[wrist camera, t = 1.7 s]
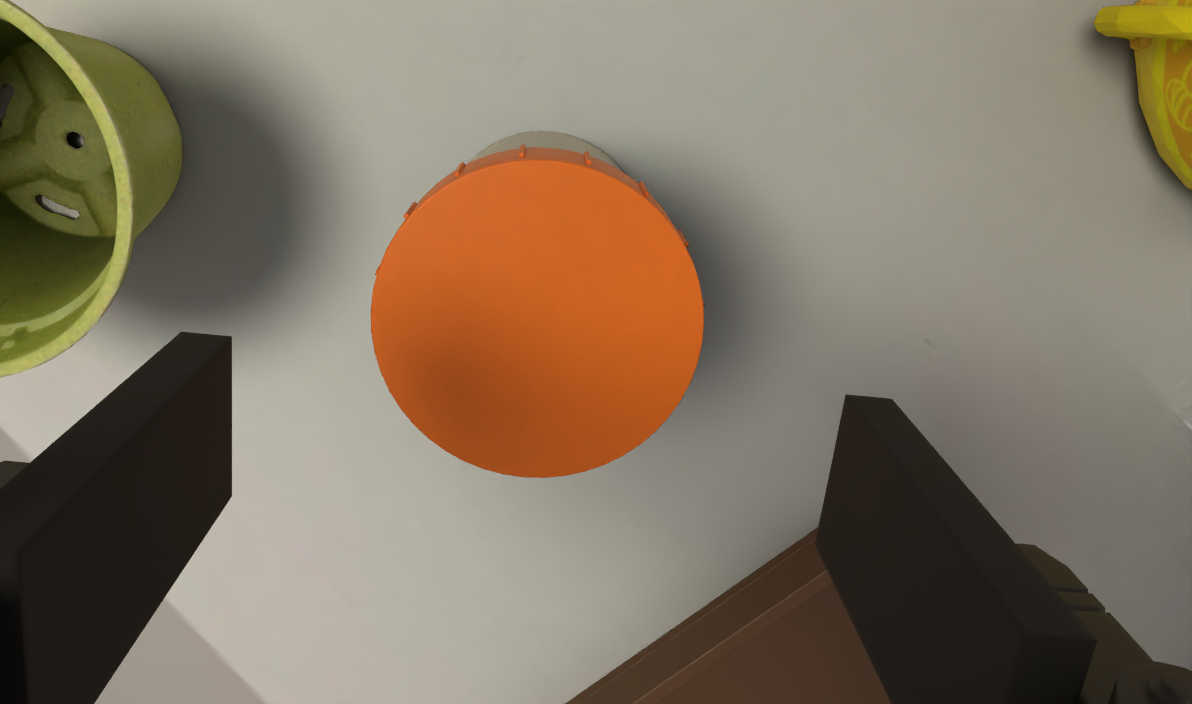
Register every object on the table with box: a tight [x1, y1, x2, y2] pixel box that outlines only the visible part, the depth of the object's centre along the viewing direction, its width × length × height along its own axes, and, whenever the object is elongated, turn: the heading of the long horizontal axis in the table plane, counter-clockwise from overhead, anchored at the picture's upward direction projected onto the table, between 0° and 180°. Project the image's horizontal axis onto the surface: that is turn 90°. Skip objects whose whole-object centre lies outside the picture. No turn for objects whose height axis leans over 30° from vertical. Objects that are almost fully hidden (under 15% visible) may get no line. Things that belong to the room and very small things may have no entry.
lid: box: [371, 145, 704, 478], centre depth 24 cm, size 8×8×2 cm
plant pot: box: [0, 0, 183, 377], centre depth 27 cm, size 9×9×9 cm
